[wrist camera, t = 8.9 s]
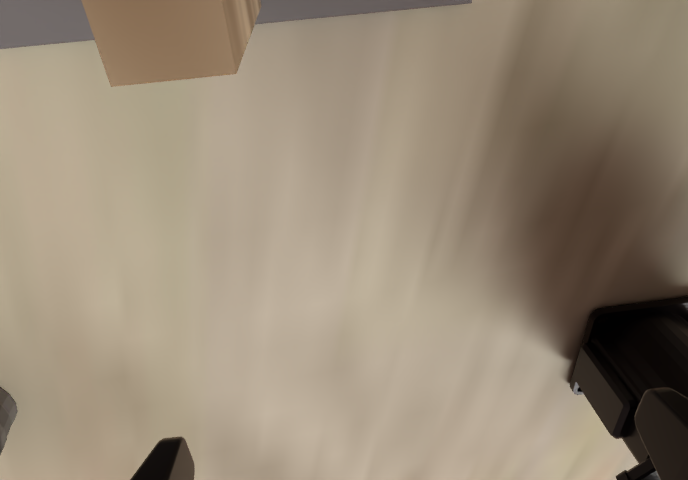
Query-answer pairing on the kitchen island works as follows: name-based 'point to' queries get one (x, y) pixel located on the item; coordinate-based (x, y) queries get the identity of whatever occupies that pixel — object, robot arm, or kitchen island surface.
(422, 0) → the rubber mat
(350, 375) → the kitchen island surface
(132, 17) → the upright wooden plank
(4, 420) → the beverage cup
